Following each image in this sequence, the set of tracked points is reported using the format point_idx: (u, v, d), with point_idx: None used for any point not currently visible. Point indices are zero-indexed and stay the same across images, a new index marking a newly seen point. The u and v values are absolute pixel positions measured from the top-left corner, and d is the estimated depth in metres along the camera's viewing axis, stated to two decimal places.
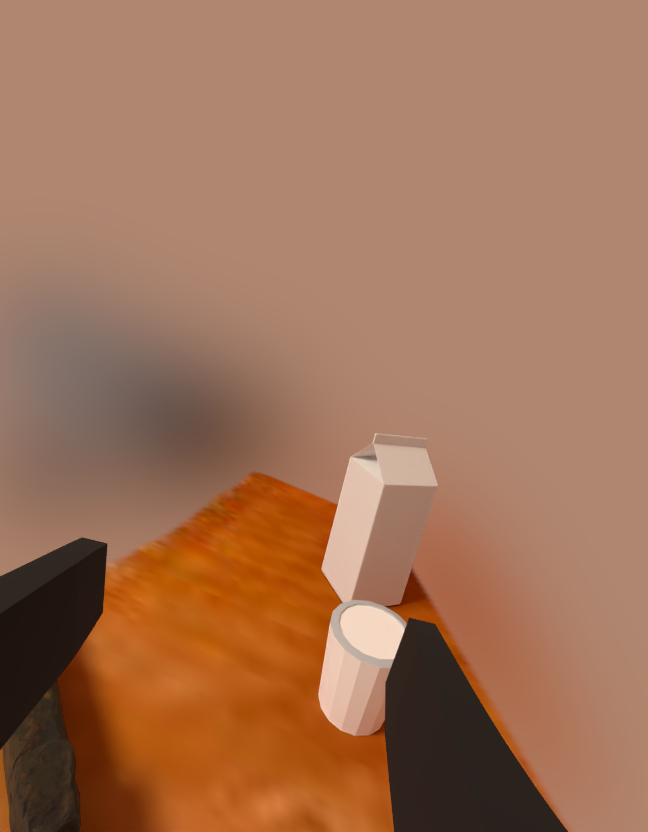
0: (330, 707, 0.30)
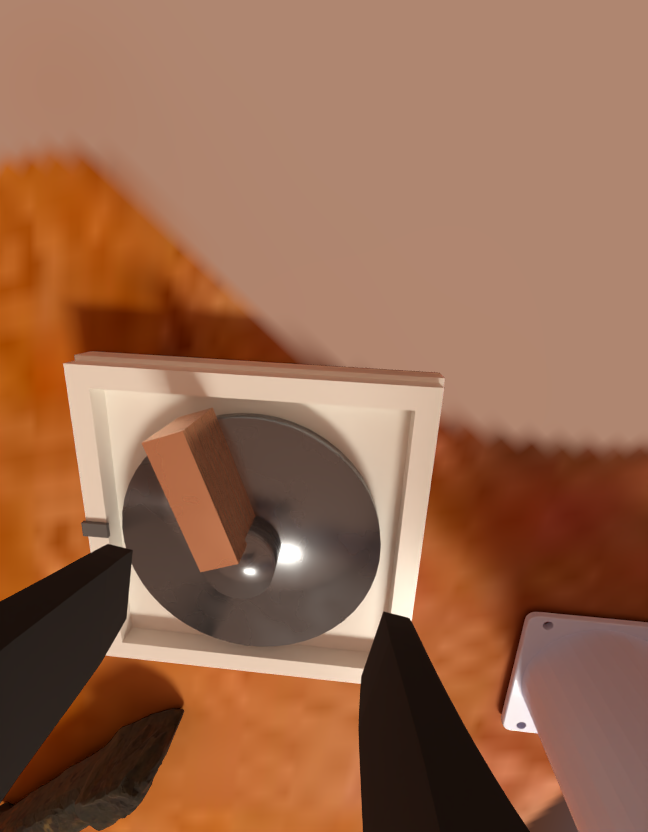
0: None
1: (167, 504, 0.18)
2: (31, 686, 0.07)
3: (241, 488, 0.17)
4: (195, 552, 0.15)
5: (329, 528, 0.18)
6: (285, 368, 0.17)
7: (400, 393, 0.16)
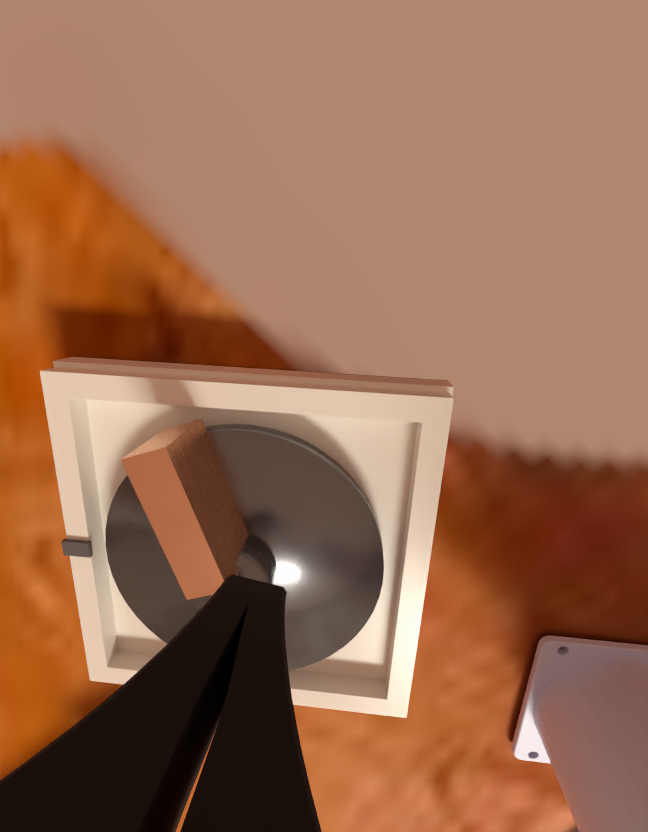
0: None
1: None
2: (201, 728, 0.07)
3: (233, 506, 0.16)
4: (181, 578, 0.14)
5: (328, 548, 0.16)
6: (280, 376, 0.16)
7: (406, 404, 0.14)
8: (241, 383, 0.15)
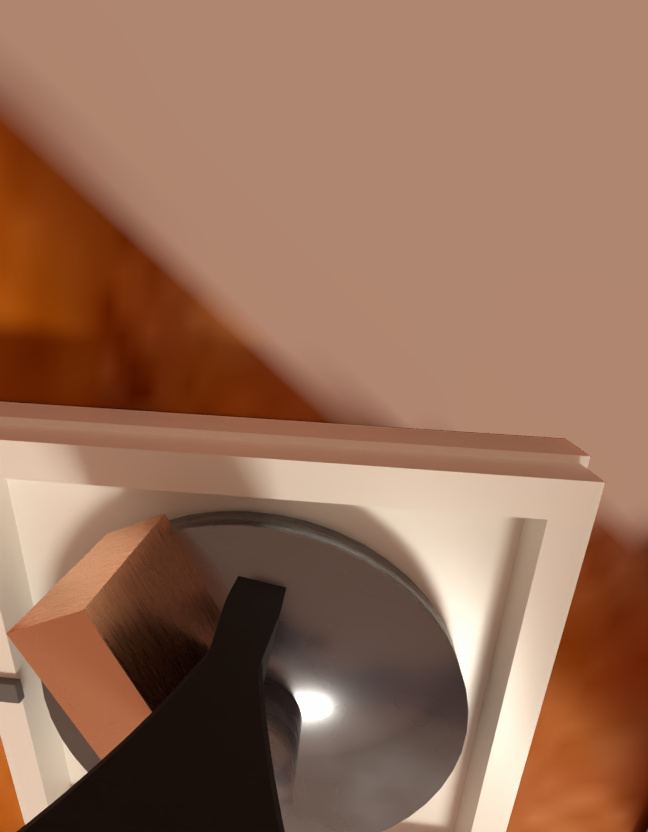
0: None
1: None
2: None
3: None
4: None
5: (380, 689, 0.11)
6: (310, 437, 0.10)
7: (523, 490, 0.09)
8: (249, 455, 0.09)
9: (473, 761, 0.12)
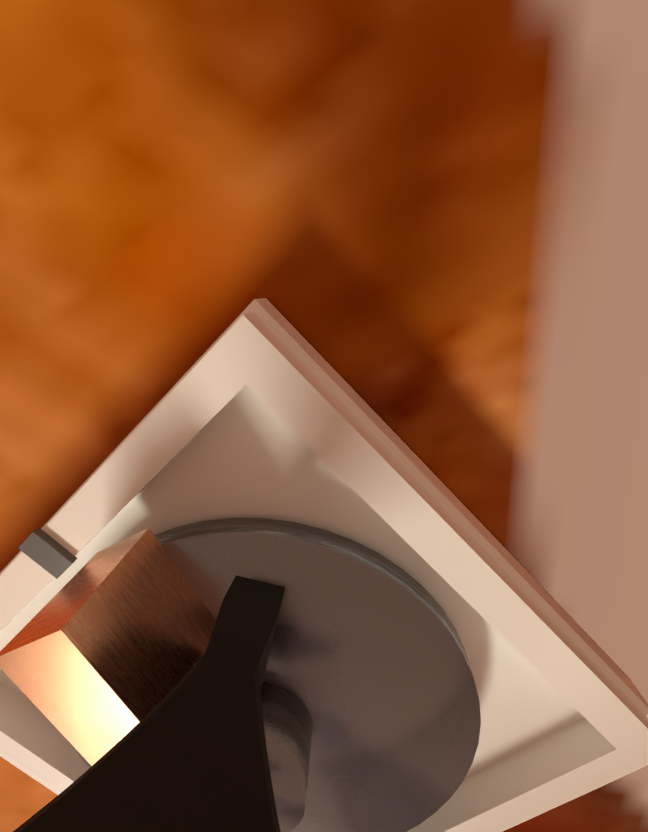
0: None
1: None
2: None
3: None
4: None
5: (386, 685, 0.10)
6: (513, 568, 0.10)
7: (625, 723, 0.10)
8: (487, 562, 0.09)
9: None
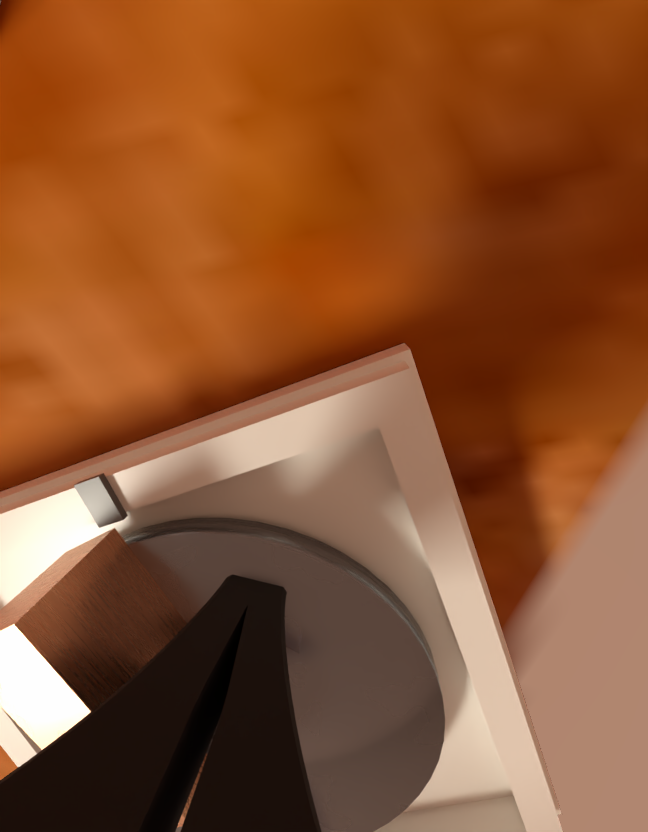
0: None
1: None
2: (201, 728, 0.07)
3: None
4: None
5: (351, 682, 0.11)
6: (510, 658, 0.11)
7: (546, 817, 0.12)
8: (503, 652, 0.10)
9: None
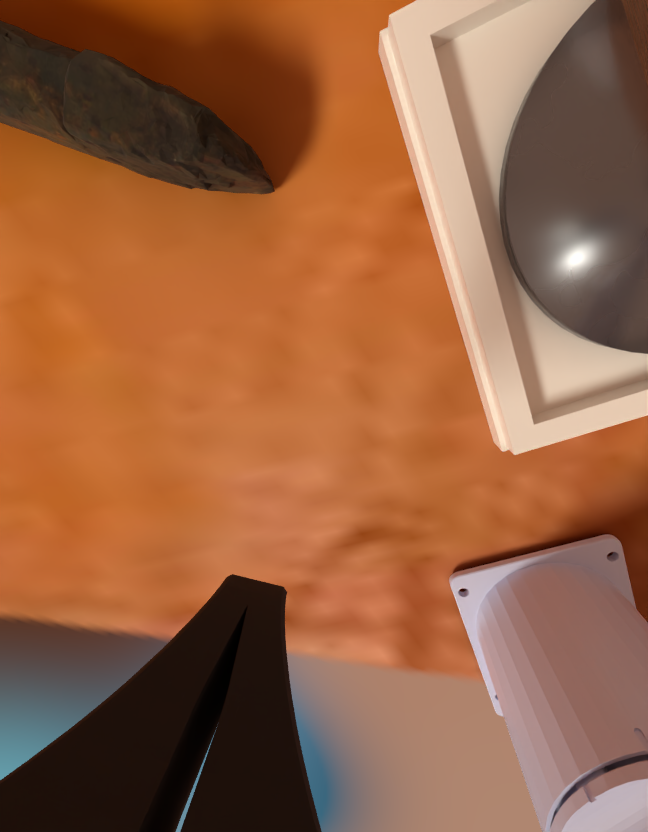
0: None
1: (578, 132, 0.13)
2: (201, 728, 0.07)
3: None
4: None
5: None
6: None
7: None
8: None
9: (647, 380, 0.16)
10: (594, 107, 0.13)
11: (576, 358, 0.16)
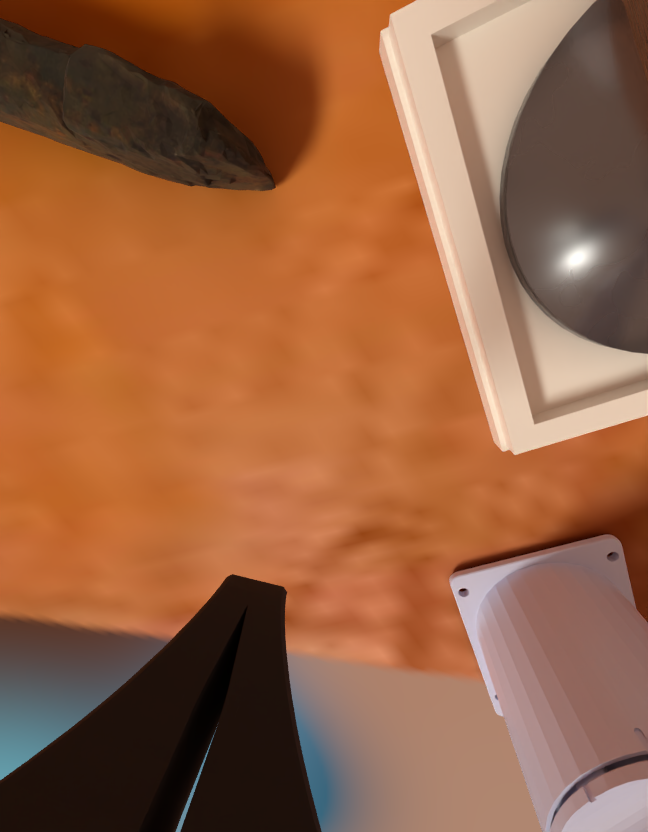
0: None
1: (579, 132, 0.13)
2: (201, 728, 0.07)
3: None
4: None
5: None
6: None
7: None
8: None
9: None
10: (595, 107, 0.13)
11: (576, 358, 0.16)
